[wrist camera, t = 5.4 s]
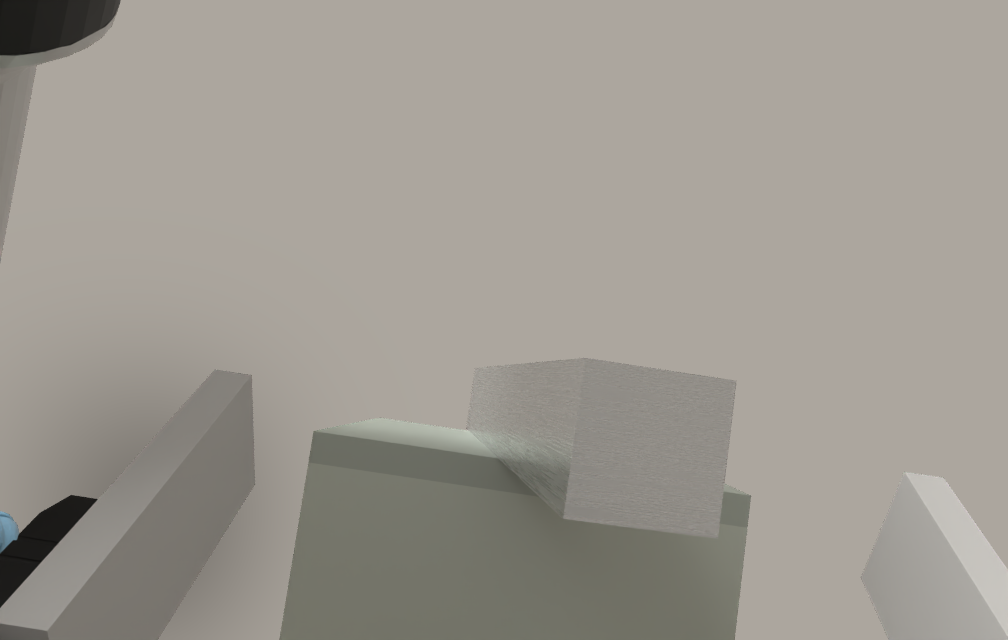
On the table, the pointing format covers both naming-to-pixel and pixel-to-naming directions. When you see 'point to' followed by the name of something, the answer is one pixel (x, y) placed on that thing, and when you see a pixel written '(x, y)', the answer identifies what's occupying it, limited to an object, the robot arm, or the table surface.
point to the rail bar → (611, 440)
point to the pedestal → (487, 552)
